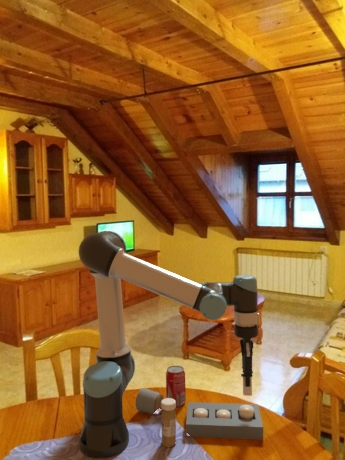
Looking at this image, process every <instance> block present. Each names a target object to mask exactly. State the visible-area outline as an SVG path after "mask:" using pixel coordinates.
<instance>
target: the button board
mask: <svg viewBox="0 0 345 460" xmlns="http://www.w3.org/2000/svg"><path fill="white" fill-rule="evenodd" d="M241 405H250V406H252V407H253V408H254V419H240V417H239V407H240V406H241ZM198 408H203V409H206V410H207V411H208V418H200V417H194V410H195V409H198ZM218 410H228V411H229V412H230V413H231V419H228V418H217V415H216V413H217V411H218ZM186 433H188V434H189V435H190V436H191V437H193V438H212V439H214V438H215V439H237V440H238V439H239V440H241V439H242V440H264V425H263V420H262V416H261V412H260V408H259V404H257V403H255V404H253V403H226V402H225V403H220V402H219V403H218V402H192V401H191V402H189V401H188V404H187V411H186V420H185V434H186ZM191 437H190V438H191Z"/></svg>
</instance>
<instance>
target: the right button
mask: <svg viewBox="0 0 345 460" xmlns="http://www.w3.org/2000/svg"><path fill="white" fill-rule="evenodd" d="M239 417H240V419H254V408H253V407H252V406H250V405H241V406H240V407H239Z"/></svg>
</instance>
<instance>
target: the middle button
mask: <svg viewBox="0 0 345 460" xmlns="http://www.w3.org/2000/svg"><path fill="white" fill-rule="evenodd" d="M216 415H217V418H228V419H231V413H230V412H229V411H228V410H218V411H217V413H216Z"/></svg>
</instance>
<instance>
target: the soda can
mask: <svg viewBox="0 0 345 460" xmlns="http://www.w3.org/2000/svg"><path fill="white" fill-rule="evenodd" d="M165 387H166V388H165V389H166V390H165V391H166V392H165V394H166V395H165V397H166V398H172V399H174V400H175V401H176V408H177V407H178V408H179V407H181V406H183V405H184V404H185V403H186V400H187V398H186V397H187V396H186V395H187V394H186V372H185V369H184V367H183V366H182V365H171V366H168V367H167V368H166V372H165Z"/></svg>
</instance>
